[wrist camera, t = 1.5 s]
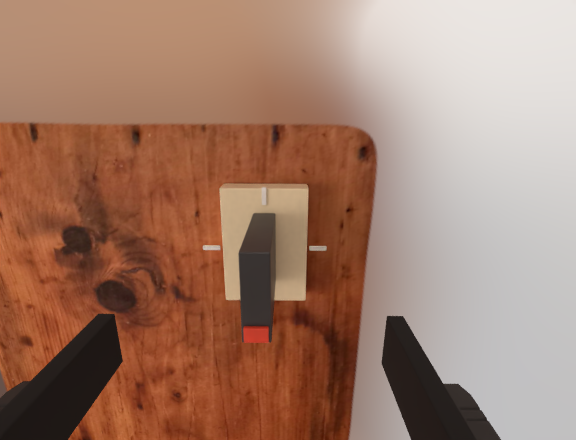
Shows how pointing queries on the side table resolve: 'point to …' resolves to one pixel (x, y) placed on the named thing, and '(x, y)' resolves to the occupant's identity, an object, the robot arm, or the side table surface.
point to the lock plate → (289, 233)
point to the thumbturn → (258, 278)
